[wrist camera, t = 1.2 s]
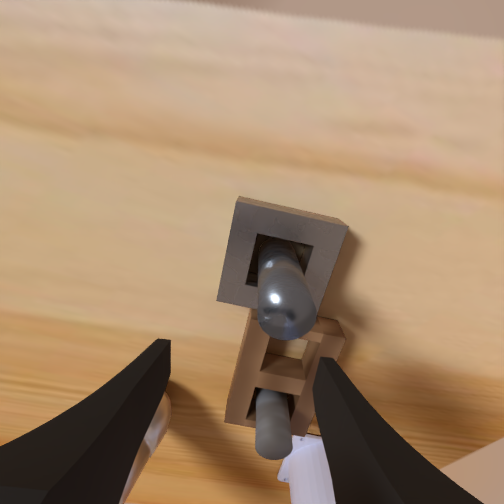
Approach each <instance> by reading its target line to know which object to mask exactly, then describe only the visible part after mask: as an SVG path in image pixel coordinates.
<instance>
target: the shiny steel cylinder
mask: <svg viewBox="0 0 504 504" xmlns="http://www.w3.org/2000/svg"><path fill="white" fill-rule="evenodd" d="M257 318H258V323H259V325H260V327H261V328H262V330H263V331H264V332H265V333H266V334H268V335H269V336H271V337H273V338H275V339H279V340H294V339H297V338H300V337H302V336H304V335H305V334H307V333H308V332H309V331H310V330H311V329H312V328H313V326H314V324H315V322H316V318H317V310H316V307H315V304H314V301H313V299H312V296H311V293H310V291H309V288H308V285H307V283H306V280H305V277H304V275H303V272H302V269H301V267H300V264H299V261H298V259H297V256H296V253H295V251H294V248H293V246H292V244H291V243H290V242H289V241H288V240H286V239H281V238H277V237H272V238H269V239H267V240H266V241H264V242H263V243H262V245H261V246H260V249H259V254H258V307H257Z"/></svg>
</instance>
